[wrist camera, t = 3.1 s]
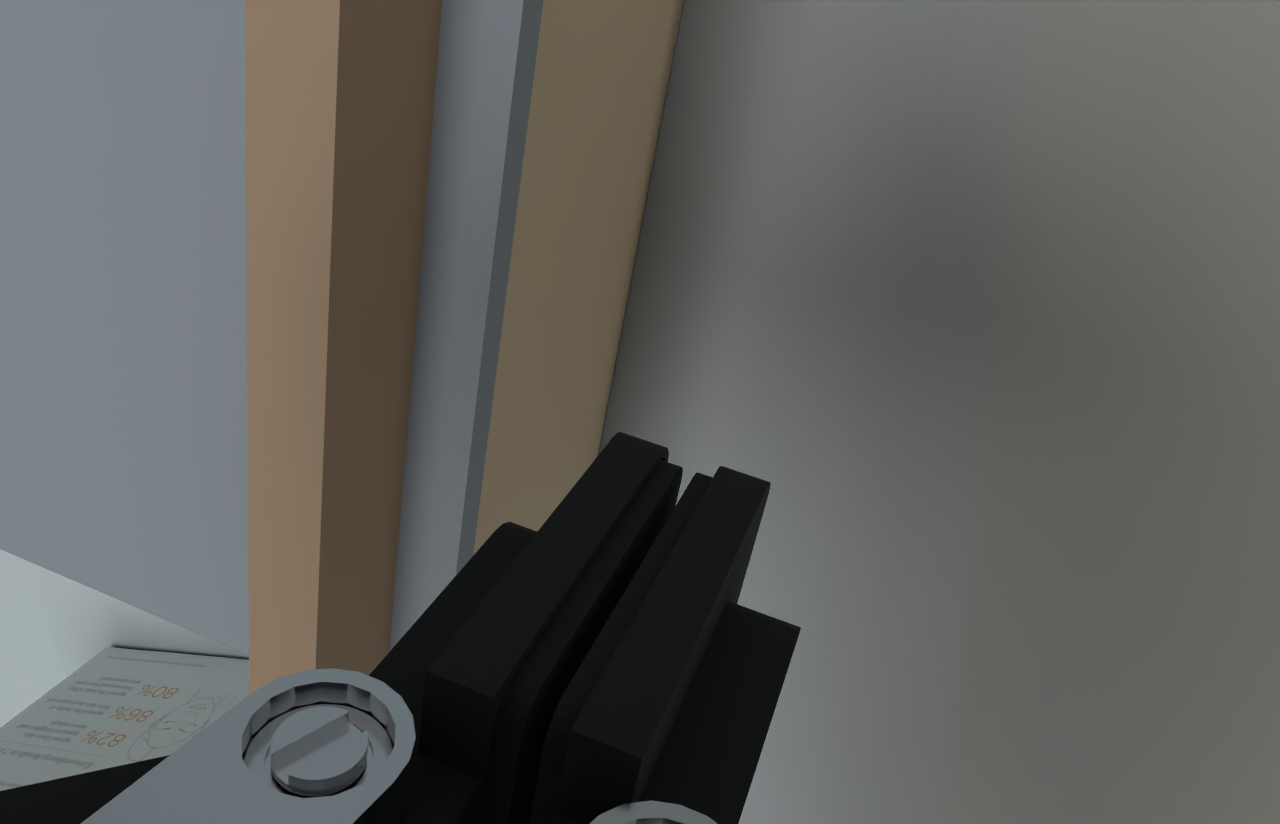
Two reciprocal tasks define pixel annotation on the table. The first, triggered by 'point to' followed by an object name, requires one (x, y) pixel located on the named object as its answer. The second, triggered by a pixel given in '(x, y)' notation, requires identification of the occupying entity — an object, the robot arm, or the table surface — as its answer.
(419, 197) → the lid
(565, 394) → the tray
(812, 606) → the table surface
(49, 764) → the small box
